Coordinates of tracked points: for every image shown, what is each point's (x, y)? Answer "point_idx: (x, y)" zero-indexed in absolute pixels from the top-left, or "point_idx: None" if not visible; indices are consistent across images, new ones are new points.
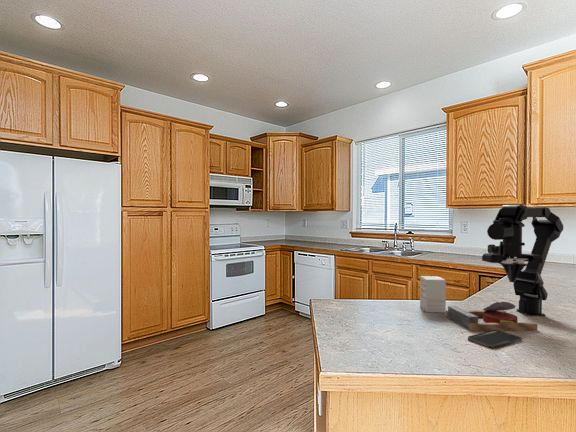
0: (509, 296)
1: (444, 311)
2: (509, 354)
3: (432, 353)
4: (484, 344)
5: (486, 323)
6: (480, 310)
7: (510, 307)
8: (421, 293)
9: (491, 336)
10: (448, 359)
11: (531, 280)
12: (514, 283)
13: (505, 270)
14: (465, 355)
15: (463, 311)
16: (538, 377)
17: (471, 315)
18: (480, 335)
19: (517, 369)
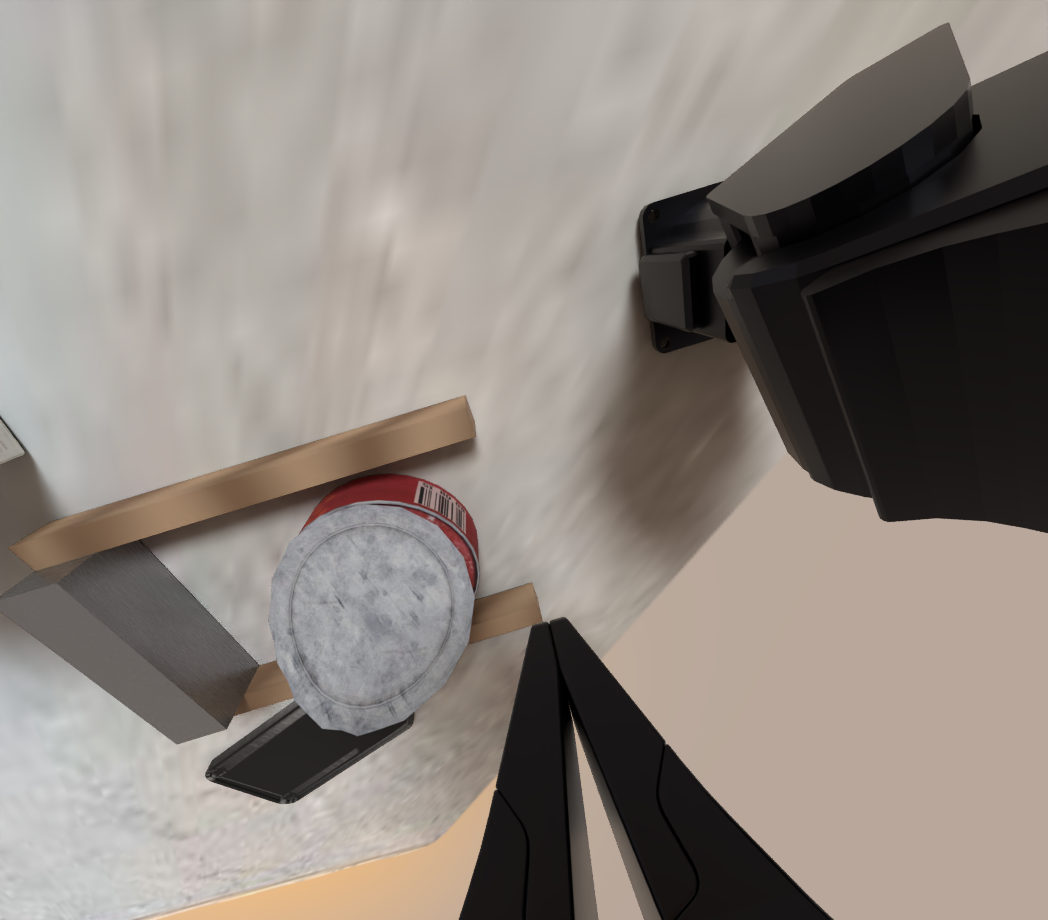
0: None
1: (6, 459)
2: (334, 803)
3: (105, 866)
4: (264, 795)
5: (286, 689)
6: (284, 466)
7: (442, 622)
8: None
9: (300, 738)
10: (158, 872)
11: (931, 487)
12: (747, 289)
13: (482, 864)
14: (204, 845)
15: (133, 678)
16: (366, 861)
17: (189, 723)
18: (257, 745)
19: (331, 852)
